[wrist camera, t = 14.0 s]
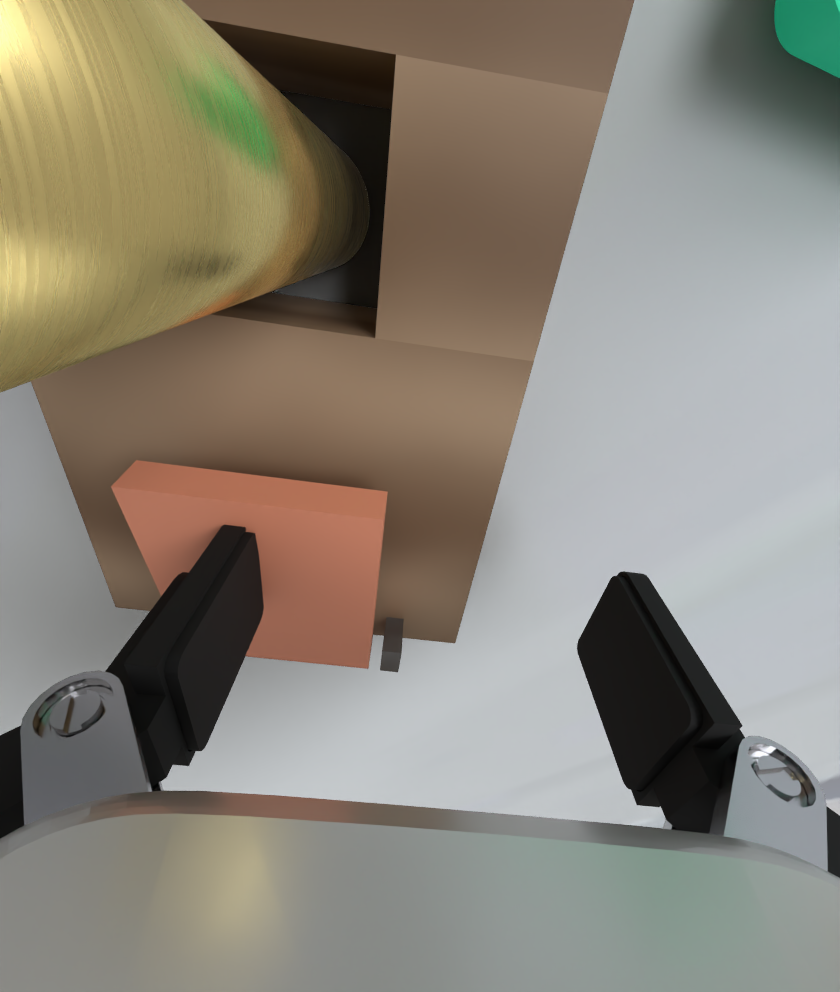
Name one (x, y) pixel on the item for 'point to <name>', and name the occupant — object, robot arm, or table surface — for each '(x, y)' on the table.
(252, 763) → the table surface
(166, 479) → the orange flat plate
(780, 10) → the camera mount
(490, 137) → the hitch block
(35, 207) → the brass pin
